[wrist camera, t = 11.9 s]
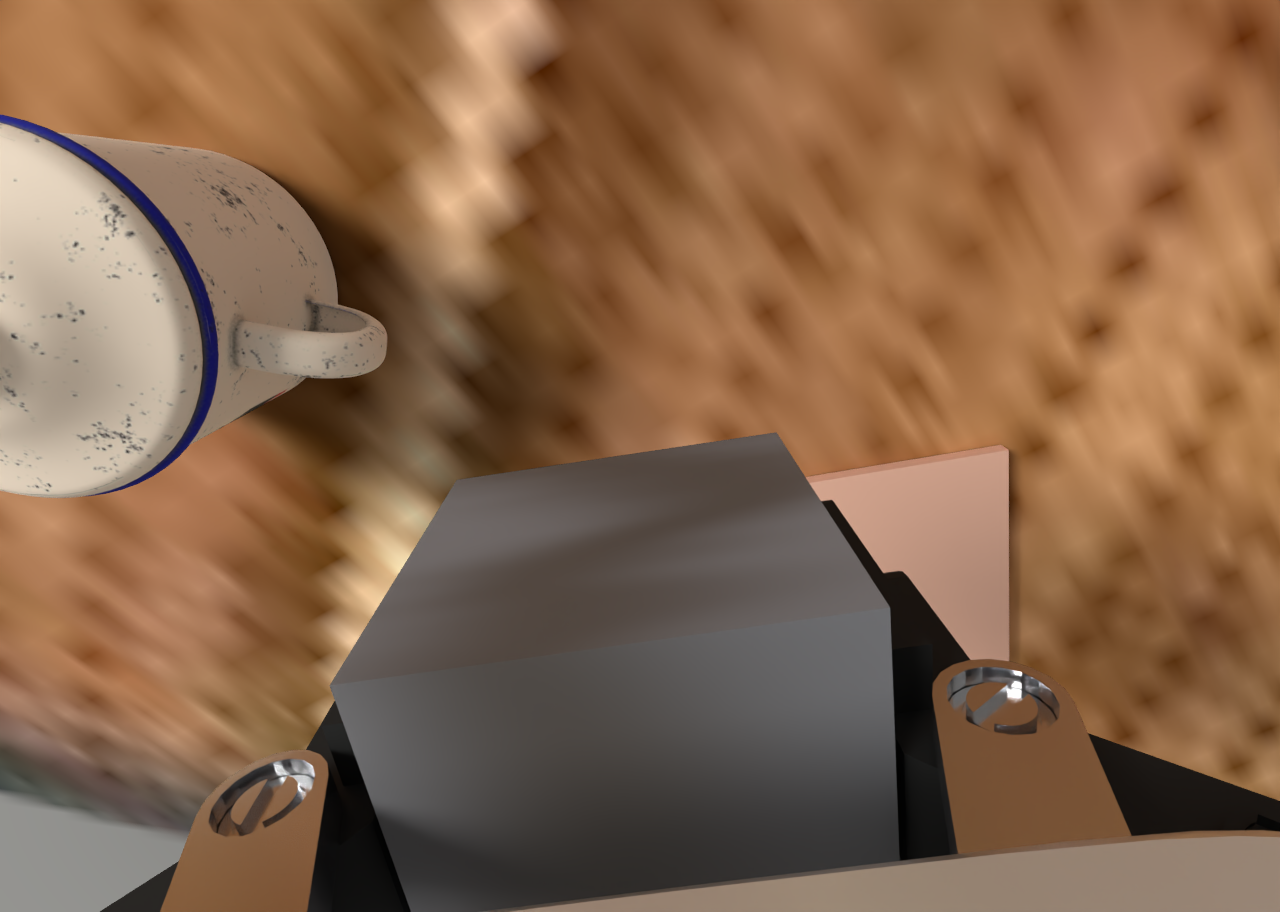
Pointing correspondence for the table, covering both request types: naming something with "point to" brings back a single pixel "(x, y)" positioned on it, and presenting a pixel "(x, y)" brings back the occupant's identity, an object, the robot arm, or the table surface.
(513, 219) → the table surface
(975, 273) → the table surface
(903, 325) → the table surface
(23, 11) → the table surface
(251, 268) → the teacup with lid
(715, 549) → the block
